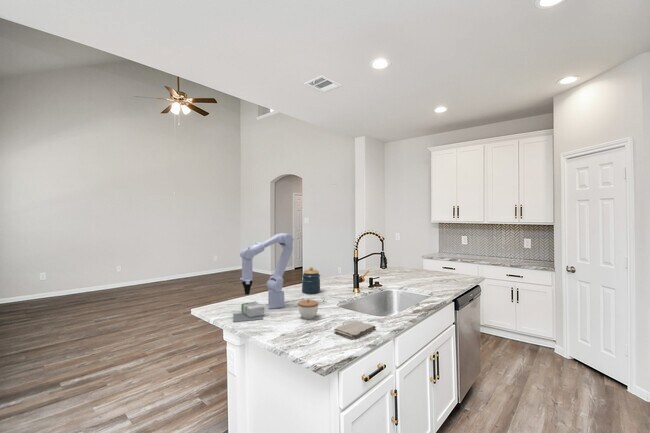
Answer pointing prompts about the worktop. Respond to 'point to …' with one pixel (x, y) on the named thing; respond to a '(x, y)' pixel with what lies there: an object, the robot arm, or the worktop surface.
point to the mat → (245, 317)
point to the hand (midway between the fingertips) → (247, 294)
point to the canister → (311, 281)
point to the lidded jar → (308, 308)
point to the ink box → (253, 309)
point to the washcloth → (354, 330)
